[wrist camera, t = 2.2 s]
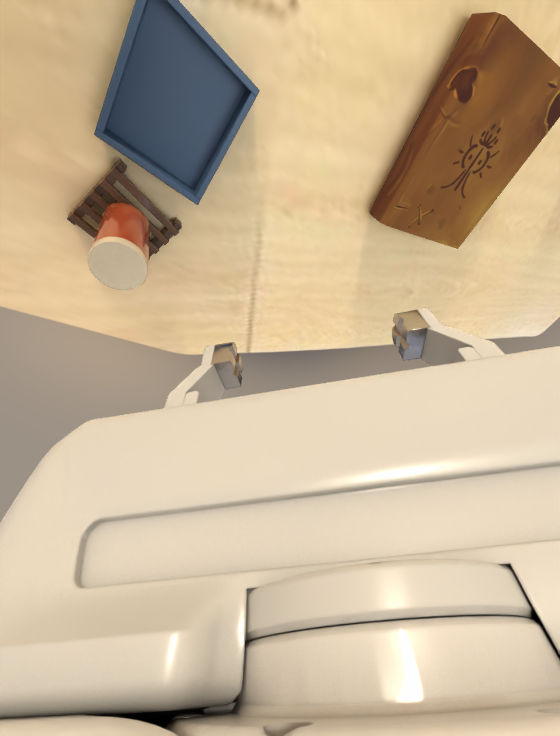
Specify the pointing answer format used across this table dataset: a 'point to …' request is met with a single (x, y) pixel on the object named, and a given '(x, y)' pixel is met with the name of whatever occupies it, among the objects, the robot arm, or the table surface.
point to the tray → (174, 98)
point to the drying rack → (106, 185)
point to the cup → (121, 247)
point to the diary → (472, 132)
